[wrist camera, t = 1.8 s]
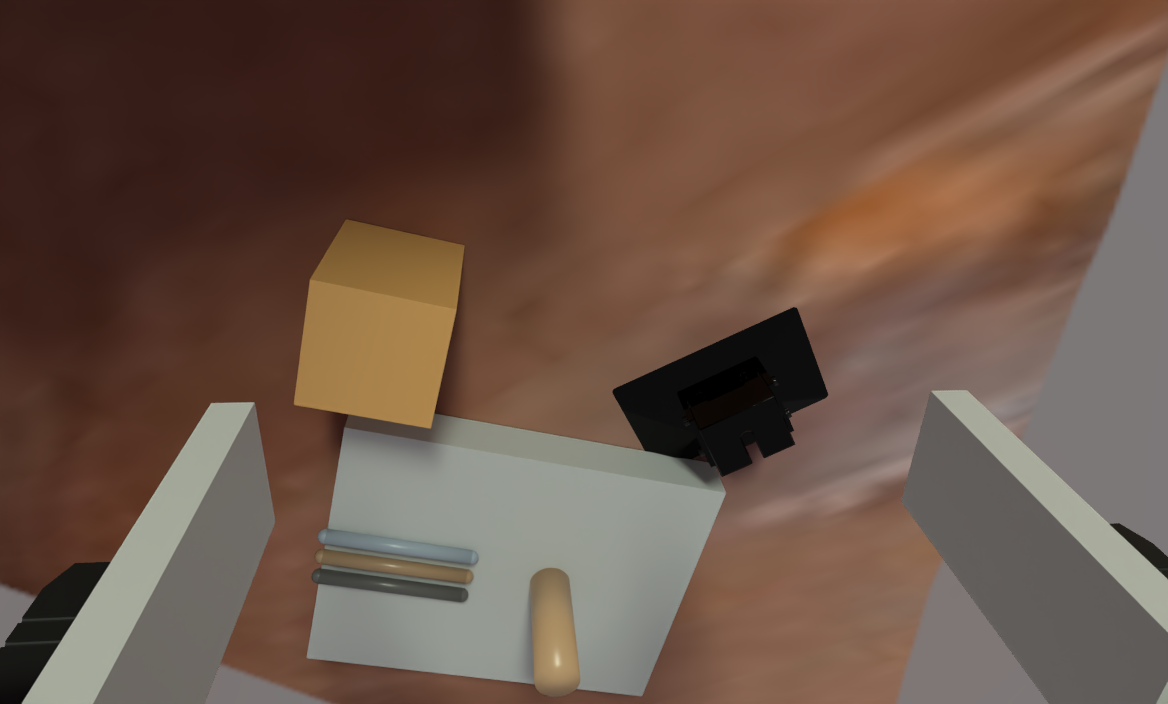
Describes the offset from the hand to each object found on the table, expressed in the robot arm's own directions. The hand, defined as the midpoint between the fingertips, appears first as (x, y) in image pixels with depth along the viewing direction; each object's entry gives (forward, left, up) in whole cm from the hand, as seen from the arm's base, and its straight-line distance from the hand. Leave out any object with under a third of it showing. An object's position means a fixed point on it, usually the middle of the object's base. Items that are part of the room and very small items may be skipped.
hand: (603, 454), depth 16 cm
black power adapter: (+11, -8, -21) cm, 24 cm away
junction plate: (+3, -19, -20) cm, 27 cm away
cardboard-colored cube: (-5, -6, -20) cm, 21 cm away
